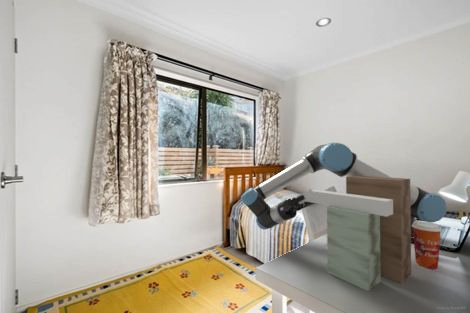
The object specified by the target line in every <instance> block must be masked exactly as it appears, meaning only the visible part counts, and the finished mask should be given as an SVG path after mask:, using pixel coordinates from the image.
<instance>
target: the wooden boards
mask: <svg viewBox="0 0 470 313" xmlns="http://www.w3.org/2000/svg"><path fill="white" fill-rule="evenodd" d="M345 184H346V185H345V191H346V192H345V193H346V194H354V195H362V196H369V197H377V198H384V199H392V200H393V214H392V215H390V216H387V217H386V216H380V215H375V214H370V213H365V212H359V211H354V210H349V209H344V208H338V207H333V206H328V205H327V207H326V215H327V216H326V233H327V234H326V236H327V237H326V242H327V244H326V246H327V248H326V249H327V250H326V251H327V254H326V255H327V261H326V262H327V264H326V265H327V267H326V268H327V273H328V274H330V275H333V277H337V278H339V279H341V280H342V281H345V282H347V283H349V284H351V285H353V286H356V287H358V288H359V289H362V290H364V291H366V292H369V291H371V290H372V289H374V288H375V286H377V285H378V284H379V283H380V282H381V279H382V278H381V276H382V277H384V278H387V279H389V280H392V281H394V282H397V283H400V284H403V283H404V282H406V280H407V279H409V278H410V277H411V276H412V238H411V201H410V185H411V178H404V177H403V178H402V177H392V178H389V177H372V176H348V177H347V176H345Z"/></svg>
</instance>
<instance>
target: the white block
mask: <svg viewBox="0 0 470 313" xmlns="http://www.w3.org/2000/svg"><path fill="white" fill-rule="evenodd" d="M308 190H309V189H306V191H308ZM306 191H305V192H306ZM312 192H313V194H314V196H315V197H314V198H312V199H310V200H308V201H307V202H312V203H315V204H318V205H324V206H327V207H328V206H333V207H338V208H344V209H349V210H354V211H359V212H365V213H370V214H375V215H380V216H386V217H387V216H390V215H392V214H393V200H392V199H384V198H377V197H369V196H362V195H354V194H346V192H338V191H337V192H331V191H324V190H321V189H315V188H314V189H312Z"/></svg>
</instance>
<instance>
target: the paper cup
mask: <svg viewBox="0 0 470 313" xmlns="http://www.w3.org/2000/svg"><path fill="white" fill-rule="evenodd" d="M412 227H413V235H414V238H413V243H414V245H413V246H414V258H415V263H416V265H418V266H420V267H422V268H425V269H430V270H437V269H438V268H439V257H440V243H441V232H442V231H443V229H442V227H441V226H440V225H439V224H437V223H435V222H425V221H422V220H415V221H414V222H413V224H412Z"/></svg>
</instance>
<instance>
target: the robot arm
mask: <svg viewBox="0 0 470 313" xmlns="http://www.w3.org/2000/svg"><path fill="white" fill-rule="evenodd" d="M320 170H321V171H322V170H327V171H329V172H330V173H332V174H335V175H336V176H338V177H340V178H342V177H343V178H344V177H348V176H372V177H389V178H393V177H392V176H390V175H387V174H386V173H384V172H382V171H380V170H379V169H377V168H374V167H373V166H371V165H370V164H367V163H365V161H364V162H363V161H362V160H360V159H358V155H357V154H356V153H355V152H353V151H351V149H350V148H349V147H348V146H347V145H345V144H344V143H341V142H329V143H326V144H322V145H318V146H316V147H315V148H313V150H310V152H308V153H306V154H305V155H303V156H302V157H301V160H299V161H297V162H295V163H294V164H293V165H291V166H288V167H287V168H285V169H283V170H282V171H281V172H279V173H276V174H275V175H273V176H272V177H270V178H268V179H266V180H265V181H263V182H262V183H260V184H258V185H257V186H254V187H250V188H248V189H247V190H246V191H244V193H242V195H241V196H240V200H241V201H242V202H243V205H245V207H247V209H248V210H250V211H251V213H253V215H254V216H255V218H256V219H255V223H256V225H257V227H258V228H259V229H261V230H263V231H264V230H268V229H273V228H274V227H276V226H278V225H280V224H281V225H284V224H285V222H287V221H289V220H292V219H294V218H295V217H297V214H298V211H301V210H304V209H305V208H308V207H310V206H312V205H315V204H316V203H312V202H307V201H308V200H310V199H312V198H314V197H315V196H314V194H313V192H312V189H311V188H310V189H307V190H308V191H304V192H302V193H301V194H299V195H296V196H295V197H292V199H291V198H288V199H285V200H282V201H281V202H278V203H277V204H275V205H273V206H272V207H270V205H269V204H268V203H267V202H266V201H265V199H268V198H269V197H271V196H273V195H274V194H276V193H277V192H279V191H281V190H283V189H285V188H286V187H288V186H290V185H291V184H293V183H295V182H297V181H298V180H300V179H301V178H304V177H305V176H307V175H309V174H315V173H317V172H318V171H320ZM323 191H331V192H338V191H337V189H336V187H335V185H333V186H329V188H327V189H324V190H323ZM410 201H411V237H414V235H413V227H412V224H413V222H414V221H416V219H418V220H419V221H423V222H430V223H436V222H439V221H441V220H442V219H443V218H444V217H445V215H446V213H447V209H448V206H447V202H446V200H445V199H444V198H443V197H442V196H441V195H439V194H437V193H435V192H434V193H433V192H428V191H425V189H422V188H420V187H418V186H416V185H414V184H410Z"/></svg>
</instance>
